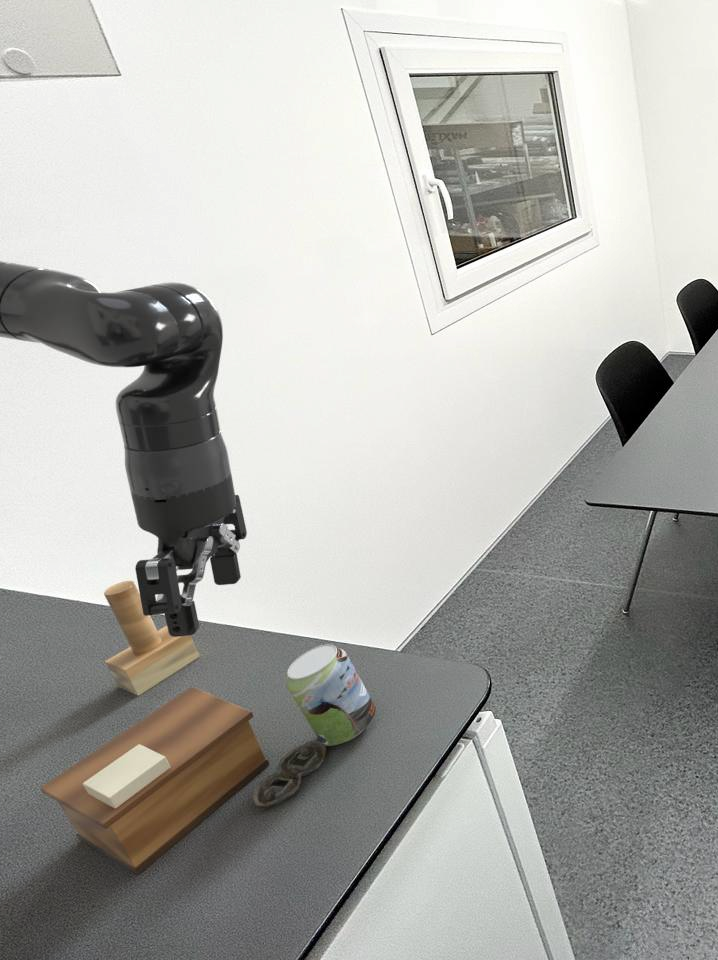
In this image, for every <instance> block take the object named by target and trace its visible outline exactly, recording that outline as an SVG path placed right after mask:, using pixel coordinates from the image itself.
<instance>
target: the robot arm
mask: <svg viewBox="0 0 718 960" xmlns="http://www.w3.org/2000/svg"><path fill="white" fill-rule="evenodd" d="M223 327H224V326H223V321H222V318H221V314H220V313H219V310H218V308H217V306H216V305H215V303H214V302H213V301H212V300H211V298H210V297H209V296H208V295H207V294H206V293H204V292H203V291H201V290H200V289H198V287H196V286H193V285H191V284H187V283H182V282H161V283H155V284H150V285H145V286H142V287H140V286H139V287H134V288H129V289H125V290H120V291H115V292H114V291H113V292H103V291H102V290H101V289H100V288H99V287H98V286H97V285H96V284H95V283H94V282H91V281H90V280H89V279H86V278H84V277H82V276H79V275H76V274H74V273H73V274H72V273H69V272H65V271H60V270H55V269H48V268H44V267H37V266H32V265H26V264H20V263H15V262H10V261H9V262H8V261H2V260H0V338H5V339H10V340H17V341H23V342H30V343H36V344H37V343H38V344H42V345H44V346H46V347H48V348H51V349H53V350H55V351H57V352H60V353H63V354H66V355H68V356H71V357H73V358H76V359H78V360H81V361H83V362H87V363H89V364H92V365H97V366H103V367H109V368H138V367H143V370H142V372H141V373H140V375H139V376H138V377H137V378H136V379H134V380H133V381H132V382H131V383H129V384H128V385H126V386H125V387H124V388H122V389H121V390H120V391H119V392H118V394H117V396H116V398H115V410H116V416H117V419H118V420H117V421H118V424H119V428H120V433H121V438H122V443H123V448H124V468H125V474H126V478H127V482H128V487H129V491H130V495H131V500H132V504H133V508H134V512H135V517H136V521H137V525H138V527H139V528H140V529H141V530H142V531H144V532H147V533H149V534H151V535H154V536H155V537H156V538H157V539H158V540H157V550H156V551H157V553H156V555H154V556H153V557H152V558H150V559H149V558H148V559H140V560H138V561H137V562H136V564H135V569H134V570H135V575H136V581H137V588H138V592H139V594H140V598H141V604H142V609H143V614H144V615H145V616H149V615H150V616H154V615H164V618H165V622H166V626H167V627H168V632H169V634H170V635H171V636H173V637H179V636H188V635H190V636H192V635H195V634H196V633H197V631H199V629H200V622H199V617H198V613H197V608H196V603H195V600H194V595H195V592H196V587H197V584H198V583H199V582H201V581H202V580H203V579H204V576H205V570H206V566H207V563H208V561H210V567H211V572H212V578H213V582H214V584H215V585H217V586H227V585H236V584H237V583H238V582H239V581H240V579H241V577H242V576H241V570H240V564H239V558H238V554H237V553H238V552H239V551H240V547H241V544H240V540H245V539H246V537H247V533H248V531H247V526H246V522H245V517H244V513H243V512H244V511H243V508H242V503H241V498H240V496H239V494H236V493H235V486H234V481H233V474H232V469H231V464H230V458H229V452H228V448H227V445H226V442H225V440H224V438H223V434H222V431H221V425H220V419H219V414H218V408H217V403H216V400H215V388H216V384H217V381H218V375H219V369H220V363H221V356H222V349H223V342H224V341H223V340H224V337H223V336H224V334H223V333H224V328H223ZM228 525H233V526H234V529H228V528H229V526H228ZM184 570H185V571H186V570H191V571H190V572H189V573H187V574H179V575H178V571H184ZM179 584H183V585H182V586H183V587H182V591H181V590H180V585H179ZM180 591H181V592H180ZM156 595H157V597H156Z"/></svg>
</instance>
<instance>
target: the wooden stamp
mask: <svg viewBox="0 0 718 960" xmlns="http://www.w3.org/2000/svg"><path fill="white" fill-rule="evenodd" d="M103 595H104V597H105V599H106V601H107V603H108V605H109V607H110V609H111V611H112V613H113V615H114V617H115V620H116V621H117V623H118V625H119V628H120V629H121V631H122V633H123V635H124V637H125V639H126V641H127V643H128V645H129V646H128V647H127V648H126V649H124V650H122V651H120V652H119V653H117V654H115V655H113V656H111V657H110V658H108V659H106V660H105V661H104V663H105V665H106V667H107V669H108V671H109V672H110V674H111V676H112V678H113V680H114V681H115V684H116V686H117V688H119V689H122V690H124V691H126V692H128V693H131V694H133V695H135V696H138V697H139V696H141V695H142V694H144V693H146V692H147V691H148V690H150V689H152V688H153V687H154V686H156V685H158V684H159V683H162V681H164V680H165V679H167V678H169V677H170V676H172V675H174V674H175V673H177V672H179V671H180V670H182V669H183V668H184V667H186V666H187V665H189V664H191V663H192V662H194V661H196V660H197V659H198V658H200V653H199V652H198V650H197V647H196V646H195V643H194V641H193V638H192V637H191V636H192V635H188V636H179V637H173V636H171V635H170V634H169V632H168V627H167V625H165V626H164V627H162V628H160V629H157V627H156V625H155V623H154V621H153V619H152V616H151V615H149V616H145V615H144V614H143V609H142V604H141V598H140V592H139V588H138V586H136V584H135V582H134V580H125V581H121V582H118V583H116V584H113V585H111V586H109V587H108V588H107V589H105V590H104V591H103Z"/></svg>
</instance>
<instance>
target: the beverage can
mask: <svg viewBox="0 0 718 960" xmlns="http://www.w3.org/2000/svg"><path fill="white" fill-rule="evenodd" d="M286 673H287V674H286V675H287V678H286V689H287V690H288V691H289V694H290V695H291V696H292V699H294V701H295V703H296V705H297V707H298V708H299V710H300V711H301V712H302V715H303V716H304V717H305V719H306V721H307V722H308V724H309V726H310V728H311V729H312V731H313V732H314V734H315V736H316V737H317V740H320V742H321V743H322V744H323V745H326V747H327V746H328V747H332V746H337V745H341V744H344V743H346V742H349V741H351V740H353V739H355V738H356V737H357V736H359V735H360V734H361V733H362V732H364V730H365V729H366V728H367V727H368V726H369V725H370V723H371V722H372V720H373V719H374V717H375V714H376V705H375V703H374V701H373V699H372V698H371V696H370V694H369V692H368V690H367V688H366V687H365V685H364V683H363V681H362V679H361V677H360V675H359V674H358V672H357V670H356V668H355V667H354V664H353V662H352V660H351V659H350V657H349V655H348V654H347V652H346V651H345V650H344V649H343V648H340V647H336V646H335V645H334V644H331V643H329V644H328V643H327V644H321V645H318V646H315V647H312V648H311V649H309V650H307V651H305V652H304V653H302V654H301V655H300V656H298V657H297V658H296V659H295V660H293V662H292V663H291V664H290V666H289V667H288V669H287V671H286Z"/></svg>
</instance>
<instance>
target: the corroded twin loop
mask: <svg viewBox="0 0 718 960" xmlns="http://www.w3.org/2000/svg"><path fill="white" fill-rule="evenodd" d="M326 752H327V746H326V745H323V744H322V743H321V742H320V740H319V739H315V740H310V741H308V742H305V743H304V744H301V745H299V746H297V747H294V748H292V749H291V750H290V751H288V752H287V753H286V754H285V755H283V756H282V757H281V758H280V759H279V762H278V765H277V766H278V767H277V769H278V771H276V772H274V773H271V774H270V775H267V776H266V777H264V778H262V779H261V781H260V782H258V783H257V785H256V786H255V788H254V791H253V793H252V801H253V802H254V805H256V806H257V807H264V808H269V807H271V806H273V805H276V804H279V803H281V802H282V801H284V800H286V799H288V798H289V797H291V796H293V795H294V794H295V793H296V791H297V790H299V786H300V785H301V783H302V777H305V776H307V775H309V774H310V773H312V772H313V771H315V770H317V769H319V767H321V765H322V764H323V762H324V759H325V757H326V754H327V753H326ZM297 760H306V761H307V762H305V764H304V765H298V764H294V763H295V762H296V761H297ZM280 781H285V782H287V783H286V784H285V786H282V785H281V786H279V785H274V784H277V783H278V782H280Z"/></svg>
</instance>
